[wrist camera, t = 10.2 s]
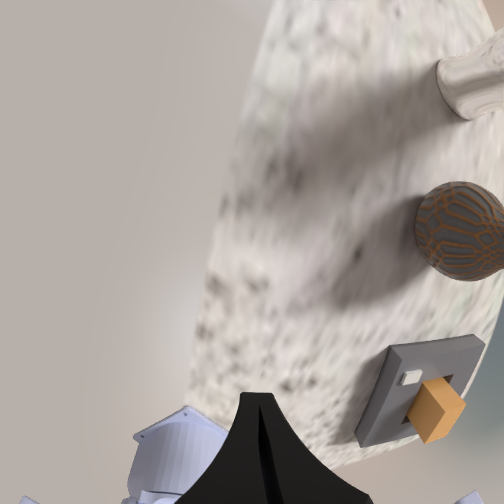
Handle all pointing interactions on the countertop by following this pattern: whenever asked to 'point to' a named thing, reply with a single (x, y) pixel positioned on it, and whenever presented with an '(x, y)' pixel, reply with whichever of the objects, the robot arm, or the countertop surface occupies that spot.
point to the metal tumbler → (474, 79)
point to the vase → (461, 231)
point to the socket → (414, 383)
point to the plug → (435, 409)
